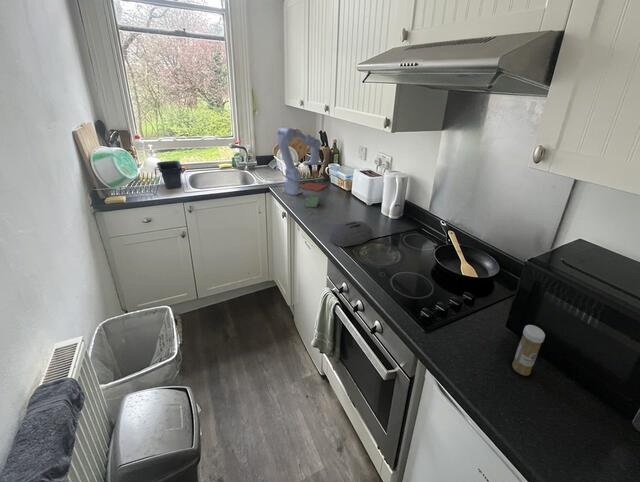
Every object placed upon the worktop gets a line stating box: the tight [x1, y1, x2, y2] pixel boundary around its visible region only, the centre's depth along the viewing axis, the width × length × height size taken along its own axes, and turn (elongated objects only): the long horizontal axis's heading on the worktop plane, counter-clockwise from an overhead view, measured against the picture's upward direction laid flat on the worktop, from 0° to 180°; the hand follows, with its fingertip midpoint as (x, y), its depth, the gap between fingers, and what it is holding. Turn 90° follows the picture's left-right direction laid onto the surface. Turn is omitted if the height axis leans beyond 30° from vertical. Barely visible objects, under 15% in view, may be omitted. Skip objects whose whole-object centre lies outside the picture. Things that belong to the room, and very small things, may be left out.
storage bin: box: [154, 160, 183, 190], centre depth 200 cm, size 21×16×14 cm
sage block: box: [304, 195, 319, 208], centre depth 182 cm, size 7×7×4 cm
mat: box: [299, 181, 328, 193], centre depth 215 cm, size 16×14×1 cm
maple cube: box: [311, 169, 319, 178], centre depth 210 cm, size 4×4×4 cm
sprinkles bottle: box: [511, 324, 546, 376], centre depth 78 cm, size 5×5×13 cm
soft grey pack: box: [330, 220, 373, 248], centre depth 142 cm, size 15×8×20 cm
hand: (314, 175), depth 210 cm, fingers closed on maple cube, 4 cm apart
